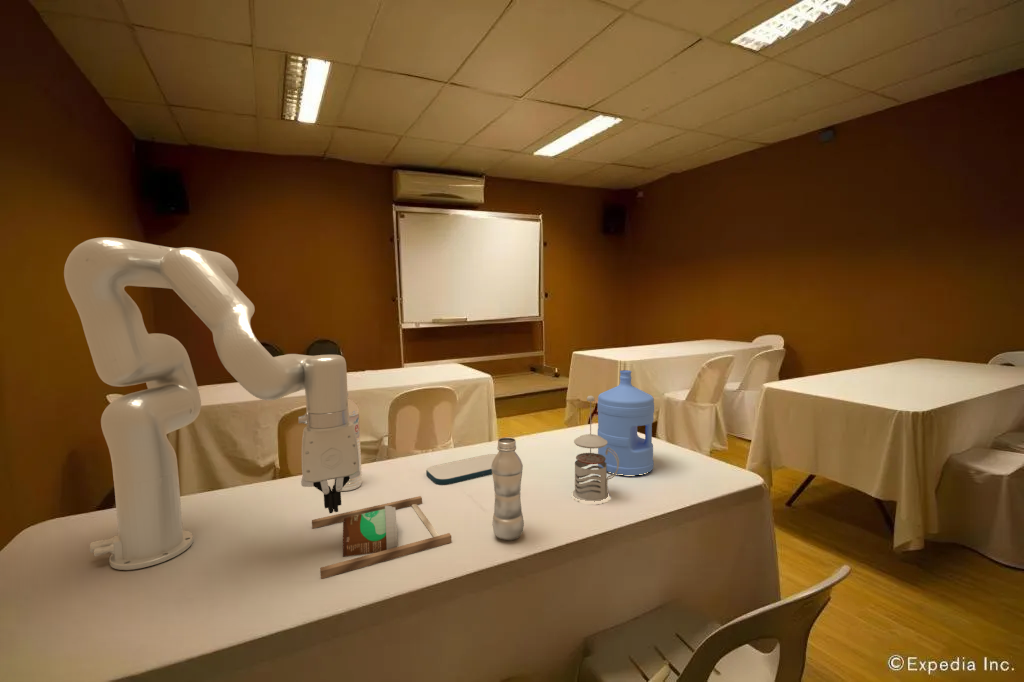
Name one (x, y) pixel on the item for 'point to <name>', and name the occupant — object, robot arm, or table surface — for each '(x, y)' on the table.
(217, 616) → the table surface
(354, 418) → the water bottle
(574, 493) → the french press
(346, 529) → the food container
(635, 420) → the water jug
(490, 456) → the external hard drive
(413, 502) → the wooden frame
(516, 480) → the plastic bottle
